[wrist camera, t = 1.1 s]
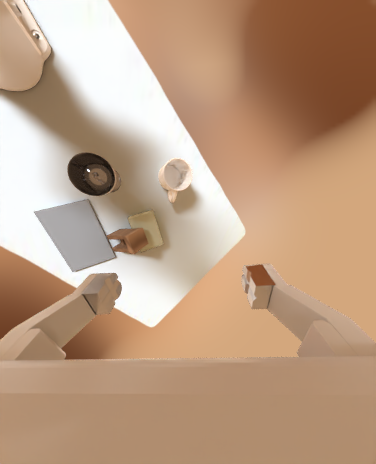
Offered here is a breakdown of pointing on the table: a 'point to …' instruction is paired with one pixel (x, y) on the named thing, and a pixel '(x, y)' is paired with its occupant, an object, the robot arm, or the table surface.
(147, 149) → the table surface
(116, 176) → the wine glass
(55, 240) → the mat
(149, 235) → the pale olive rectangular block
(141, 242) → the stool
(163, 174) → the mug
